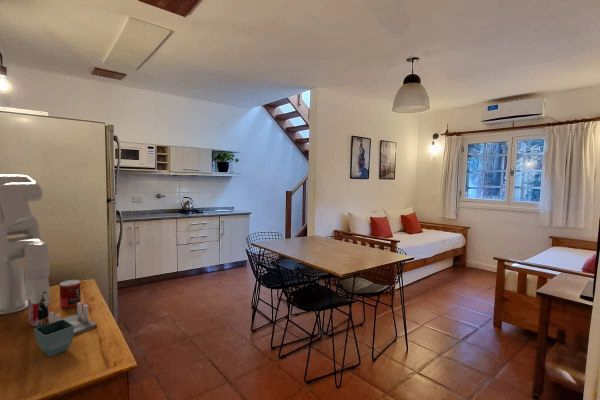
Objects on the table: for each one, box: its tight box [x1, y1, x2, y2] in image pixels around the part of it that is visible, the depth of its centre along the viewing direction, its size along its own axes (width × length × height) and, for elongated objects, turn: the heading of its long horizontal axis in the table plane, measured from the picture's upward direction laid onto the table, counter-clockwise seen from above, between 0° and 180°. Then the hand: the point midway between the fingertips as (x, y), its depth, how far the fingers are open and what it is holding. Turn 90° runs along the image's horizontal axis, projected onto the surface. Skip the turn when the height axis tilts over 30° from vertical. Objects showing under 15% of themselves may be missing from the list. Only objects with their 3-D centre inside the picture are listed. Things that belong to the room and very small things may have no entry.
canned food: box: [59, 279, 82, 310], centre depth 146 cm, size 8×8×11 cm
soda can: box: [27, 299, 49, 327], centre depth 128 cm, size 6×6×12 cm
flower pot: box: [33, 318, 74, 357], centre depth 109 cm, size 9×9×9 cm
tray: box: [39, 302, 98, 337], centre depth 125 cm, size 16×13×8 cm
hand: (38, 316), depth 128 cm, fingers closed on soda can, 6 cm apart
